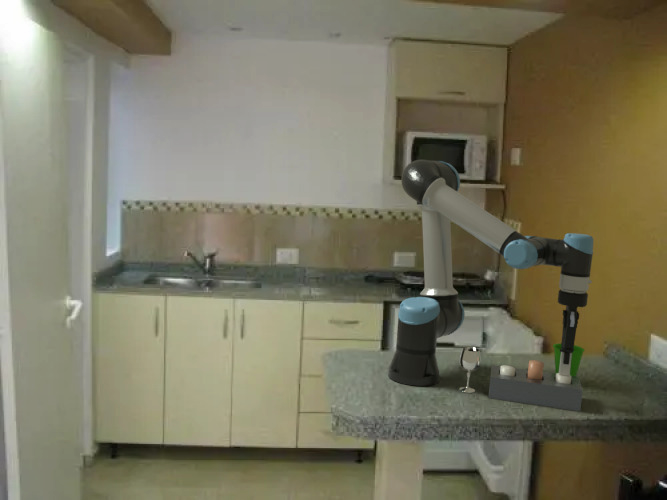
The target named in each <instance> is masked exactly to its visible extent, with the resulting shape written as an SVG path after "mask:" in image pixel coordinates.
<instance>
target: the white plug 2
mask: <svg viewBox="0 0 667 500" xmlns="http://www.w3.org/2000/svg"><path fill="white" fill-rule="evenodd" d="M555 374H556V380H555V382H558V383H565V384H571V375H570V376H567V375H559V373H556V372H555Z"/></svg>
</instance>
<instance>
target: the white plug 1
mask: <svg viewBox="0 0 667 500" xmlns="http://www.w3.org/2000/svg"><path fill="white" fill-rule="evenodd" d="M500 366H501V368H500V374H501V375H508V376H514V375H515V368H516V367H515V366H511V365H500Z"/></svg>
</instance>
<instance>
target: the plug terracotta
mask: <svg viewBox="0 0 667 500" xmlns="http://www.w3.org/2000/svg"><path fill="white" fill-rule="evenodd" d="M544 366H545V363H544V361H541V360H537V359H536V360H535V359H533V360H531V359H530V360H529V361H528V367H527V368H528V369H527V370H528V376H527V378H530V379H537V380H542V377H543V372H544V368H545V367H544Z"/></svg>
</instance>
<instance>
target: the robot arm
mask: <svg viewBox="0 0 667 500" xmlns="http://www.w3.org/2000/svg"><path fill="white" fill-rule="evenodd" d="M400 181H401V186H402V189H403V191H404V192H405V193H406V194H407V196H408V197H410V198H411V199H413V200H414V201H416V206H417V207H418V208H419V210H421V217H422V218H421V221H422V222H421V223H422V242H423V243H422V245H423V246H422V247H423V271H424V272H423V274H424V275H423V277H424V288H423V290H422V291H420V293H419V295H420V296H417V297H409V298H405V299H404V300H402V302H401V303H400V304H399V310H398V312H397V313H398V315H397V317H398V320H397V333H396V344H395V345H396V348H395V352H394V354H393V357H392V359H391V360H390V363H389V365H388V369H387V371H388V372H387V373H388V374H387V376H388V378H389V379H390V380H392V381H394V382H397V383H400V384H402V385H403V384H404V385H408V386H418V387H423V386H425V387H426V386H427V387H428V386H431V385H432V386H433V385H436V384H438V383H439V382H440V368H439V365H438V361H437V357H436V356H437V355H436V353H437V351H436V350H437V342H438V341H437V339H439V338H442V337H446V336H449V335H452V334H453V333H455V332H456V331H457V330H459V329H460V328H461V326H462V325H463V323H464V321H465V313H466V312H465V309H464V306H463V303H461V301H460V300H459V292H458V291H457V290H456V289H455V288H454V286H453V285H454V284H453V283H454V282H453V255H452V235H451V233H452V231H451V230H452V229H451V222H453V223H454V224H456V225H457V226H459V227H460V228H461V229H463V230H464V231H466V232H467V233H468V234H470V235H471V236H473V237H475V238H476V239H477V240H479V241H480V242H482V243H483V244H485V245H486V246H488V247H489V248H491V249H492V250H493V251H494V252H496V253H498V254H499V255H501V256H502V257H503V258H504V260H505V263H506V264H507V265H508V266H510V267H511V268H513V269H516V270H517V269H518V270H525V269H529V268H533V267H536V266H541V265H543V266H544V265H545V266H552V267H558V268H559V267H560V275H559V284H558V288H559V290H558V293H557V294H558V296H557V303H558V304H559V305H561V306H565V309H562V333H561V342H560V344H561V346H562V347H561V348H562V349H560V352H561V358H560V367H559V375H567V376H570V367H571V358H572V353H573V351H574V345H575V340H576V336H577V335H576V334H577V328H578V324H579V319H580V313H579V311H578V308H584V307H587V305H588V298H589V294H588V293H587V292H588V291H589V287H590V286H589V284H592V283H593V282H592V279H590V277H591V270H592V261H593V255H594V238H593V236H591V235H589V234H585V233H584V234H583V233H573V232H572V233H571V232H568V233H566V234H564V238H563V239H562V238H561V239H560V238H559V239H558V238H550V237H542V236H536V235H523V234H521V233H520V232H518V231H517V230H516V229H514V228H512V227H511V226H509V224H507V223H506V222H503V221H502V220H500V219H499V218H498V217H496V216H495V215H494V214H491V213H490V212H488V211H487V210H485V209H484V208H482V207H481V206H480V205H478V204H477V203H475V202H473V201H471V199H469V198H467V197H466V196H464V195H463V194H461V193H459V189H460V186H461V185H460V184H461V178H460V174H459V172H458V171H457V168H455V167H454V166H453V165H452V164H451V163H448V162H445V161H442V160H429V159H416V160H414V161H411V162H410V163H408V164H407V166H405V168H404V170H403V171H402V173H401V180H400Z"/></svg>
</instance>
